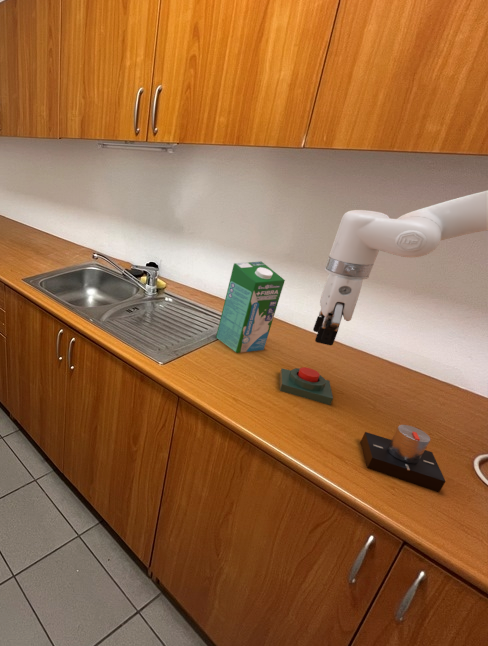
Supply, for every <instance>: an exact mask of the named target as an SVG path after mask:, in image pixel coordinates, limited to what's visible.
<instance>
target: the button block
mask: <svg viewBox="0 0 488 646" xmlns="http://www.w3.org/2000/svg"><path fill="white" fill-rule="evenodd" d="M300 368H301V367H298V368H297V367H295V368H293V369H291V370H290V369H286V368H282V367H281V369H280V372H279V375H278V377H279V392H283V393H287V394H290V395H293V396H295V397H300V398H302V399H303V398H304V399H307V400H310V401H314V402H317V403H321V404H324V405H328V406H331V405H332V403H333V400H334V396H333V391H332V387H331V382H330V381H331V380H328V379H325V378H324V377H323V376H322V375H321V374H320V376H319V379H318V381H317V382H309V381H306V380H304V379H302V378H300V377H299V376H298V373H299V370H300Z"/></svg>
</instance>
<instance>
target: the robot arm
mask: <svg viewBox="0 0 488 646" xmlns="http://www.w3.org/2000/svg"><path fill="white" fill-rule="evenodd" d="M486 231H487V232H488V189H486V190H484V191H480V192H476V193H472V194H467V195H464V196H460V197H458V198H453V199H450V200H449V199H448V200H446V201H443V202H439V203H436V204H432V205H429V206H425V207H422V208H419V209H416V210H413V211H410V212H407V213H404V214H402V215H401V216H399V217H397V218H390V217H389V215H388V214H385V213H383V212H381V211H375V210H367V209H366V210H365V209H353V210H348V211H346V212H345V213H344V214H343V215H342V217H341V220H340V223H339V226H338V227H337V231H336V234H335V236H334V240H333V243H332V246H331V248H330V252H329V255H328V257H327V260H326V262H325V263H326V264H325V266H324V271H325V272H326V273H327V274H328V275H327V278H326V280H325V283H324V286H323V289H322V292H321V295H320V299H319V306H320V310H319V312H318V315H317V316H316V317H317V318H316V320H315V323H314V326H313V331H312V332H314V333H316V336H315V339H314V341H315V343H317V344H322V345H326V346H334V342H335V340H336V338H337V335H338V333H339V329H340V325H341V322H342V318H343V319H344V320H345V322H350V321H351V320H352V318H353V315H354V312H355V310H356V307H357V304H358V300H359V297H360V294H361V289H362V284H363V280H367V279H369V278H370V275H371V272H372V270H373V267H374V265H375V262H376V259H377V257H378V254H379V252H380V251H381V252H384V253H386V254H390V255H394V256H397V257H401V258H410V259H411V258H415V259H416V258H420V257H424V256H427V255H430V254H431V253H432V252H434V251H435V250H437V248H438V247H439V245H440V243H441V241H445V240H450V239H453V238H458V237H461V236H466V235H470V234H474V233H481V232H486Z"/></svg>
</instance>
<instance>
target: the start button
mask: <svg viewBox="0 0 488 646" xmlns="http://www.w3.org/2000/svg"><path fill="white" fill-rule="evenodd" d="M299 368H300V370H299V373H298V376H299V377H300V378H302V379H304V380H306V381H309V382H317V381H318V379H319V376H320V375H321V374H320V372H319V371H317V370H316V369H313V368H311V367H307V366H306V367H303V366H302V367H299Z"/></svg>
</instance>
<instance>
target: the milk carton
mask: <svg viewBox="0 0 488 646" xmlns="http://www.w3.org/2000/svg"><path fill="white" fill-rule="evenodd" d="M285 281H286V279H284V278H283V277H282V276H280V275H279V274H278V273H277V272H275V271H274V270H273V269H272V268H271V267H269V266H268V265H267V264H265V262H263V261H249V262H237V263H235V262H234V263H233V266H232V269H231V274H230V278H229V282H228V286H227V291H226V295H225V298H224V302H223V307H222V311H221V315H220V320H219V323H218V327H217V331H216V335H215V338H216V339H218V340H219V341H220V342H222V343H223V344H224V345H225V346H227V347H228V348H229V349H230V350H231V351H234V352H235V353H236V354H239V353H248V352H258V351H264V350H265V347H266V344H267V340H268V338H269V334H270V331H271V328H272V324H273V321H274V317H275V314H276V311H277V308H278V304H279V301H280V298H281V295H282V292H283V288H284V285H285Z"/></svg>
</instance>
